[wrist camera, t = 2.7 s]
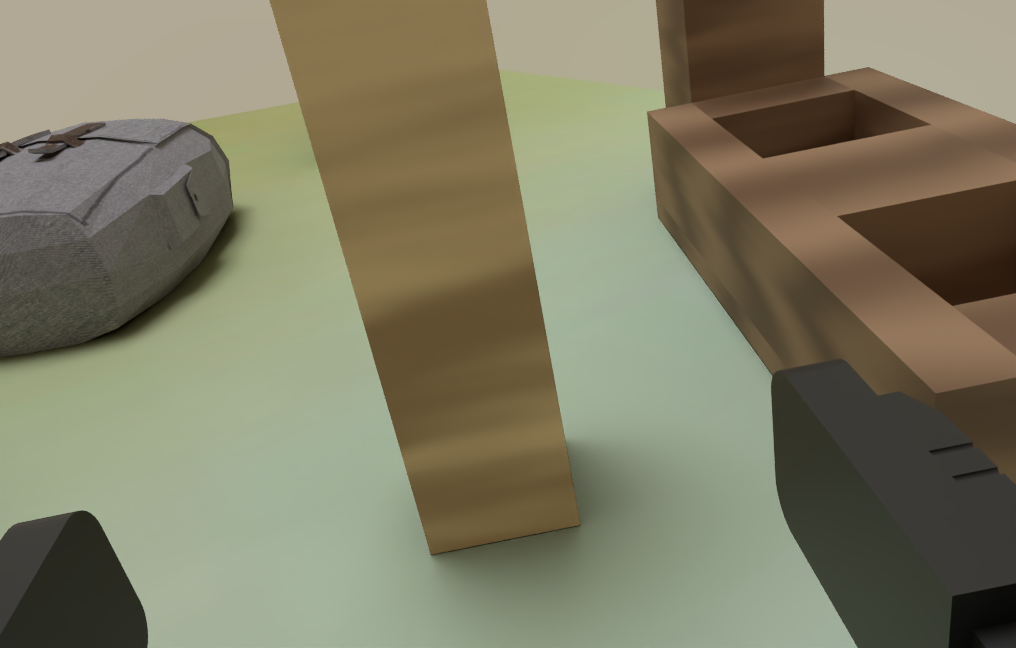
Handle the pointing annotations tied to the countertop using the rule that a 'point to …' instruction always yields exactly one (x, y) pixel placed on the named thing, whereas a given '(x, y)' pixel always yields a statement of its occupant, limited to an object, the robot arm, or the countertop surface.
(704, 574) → the countertop surface
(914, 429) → the robot arm
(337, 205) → the rail bar
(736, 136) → the wooden peg socket stand
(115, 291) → the small grey backpack
